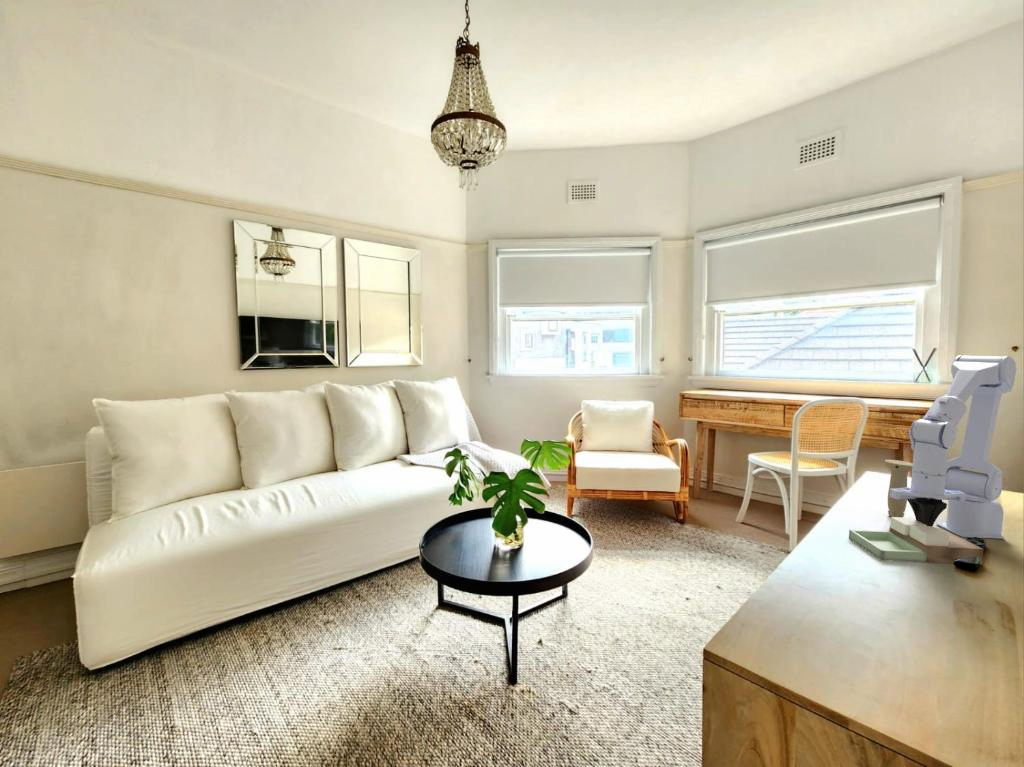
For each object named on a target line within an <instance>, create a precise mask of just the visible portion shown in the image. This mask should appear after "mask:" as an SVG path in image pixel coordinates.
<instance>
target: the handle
mask: <svg viewBox="0 0 1024 767" xmlns="http://www.w3.org/2000/svg"><path fill="white" fill-rule="evenodd" d="M884 467H887V468H888V469H889V470H890V472H891V473H890V477H889V478H890V479H889V485H888V492H887V507H888V508H887V509H888V510H887V513H888V516H890V517H905V511H906V508H907V502H908V500H907V499H894V498H892V497H890V489H897V488H907V487H908V473H909V472H912V467H913V462H909V461H904V460H897V459H885V460H884Z"/></svg>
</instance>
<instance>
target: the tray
mask: <svg viewBox="0 0 1024 767" xmlns="http://www.w3.org/2000/svg"><path fill="white" fill-rule="evenodd" d="M848 532H849V533H848V539H849V540H850V539H851V540H850V541H852V542H853V541H854V543H855V542H856V543H857V545H858V546H859V545H860V546H859V547H861V548H862V547H863V549H864V550H865V549H866V550H865V551H866V552H868V553H869V552H870V553H869V554H871V555H872V554H873V555H872V556H874V557H875V556H876V557H875V558H877V557H878V558H879V559H878V558H877V559H878V560H880V561H886V560H893V561H892V562H908V561H909V562H910V563H911V562H913V563H927V562H926V555H927V552H925V551H923V550H921V549H920V548H918V547H916V546H915V545H913V544H911V543H909V542H908V541H906V540H904V539H902V538H901V537H899V536H897V535H895V534H894V533H892V532H890V530H869V529H868V530H865V529H864V530H863V529H849V531H848ZM856 543H855V544H856ZM909 562H908V563H909Z"/></svg>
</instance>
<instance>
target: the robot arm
mask: <svg viewBox="0 0 1024 767" xmlns="http://www.w3.org/2000/svg"><path fill="white" fill-rule="evenodd" d="M1016 365H1017V364H1016V361H1015V359H1014V358H1013V356H1010V355H1003V356H1001V355H1000V356H999V355H994V356H993V355H991V356H990V355H964V354H959V355H956V357H955V358H954V359H953V361H952V362H951V366H950V369H951V370H950V371H951V373H950V374H951V376H952V379H953V380H952V381H951V383H950V385H949V387H948V390H947V392H946V393H945V395H944V396H940V397H937V398H935V400H934V401H933V403H932V404H931V406H930V407H929V409H928V410H927V411H926V413H925V415H924V416H923V417H922V418H920V419H918V420H914V421H913V422H912V424H911V426H910V429H909V432H908V436H909V440H910V443H911V444H910V449H911V450H912V451H913V454H912V455H913V458H912V463H913V467H912V471H911V481H910V486H907V488H897V489H890V497H892V498H894V499H907V502H908V504H909V506H910V507H911V509H912V511H913V514H914V517H915V518H914V519H915V520H917V521H919V522H921V523H923V524H925V525H927V526H932V527H934V524H935V522H936V520H937V519H938V517H939V516H940V514H942V512H943V511H945V510H946V509H947V511H946V520H945V521H946V522H936V526H938V527H940V528H942V529H944V530H946V531H948V532H950V533H952V534H953V533H954V535H956V536H958V537H960V538H962V537H963V538H974V537H977V538H980V539H1005V536H1004V535H1002V532H1003V521H1004V509H1003V507H1002V504H1001V503H1000V502H999V501H998V498H1000V496H1001V495H1002V491H1003V471H1002V470H1001V469H1000V468H999V467H998V466H996V465H994V463H993V462H991V461H990V460H989V459H990V458H989V457H990V453H991V447H992V443H993V438H994V433H995V427H996V421H997V417H998V412H999V407H1000V402H1001V400H1002V396H1003V394H1006V393H1009V392H1012V390H1013V387H1014V385H1015V384H1014V383H1015V380H1016V374H1017V366H1016ZM970 397H971V401H970V405H969V412H968V406H967V405H966V402H967V401H968V400H969V399H970ZM967 412H968V416H967V420H966V426H965V431H964V436H963V441H962V446H961V450H960V455H959V456H957V457H954V458H951V459H949V460H948V458H949V456H948V455H949V449H950V448H951V447H952V446H953V444H954V443H955V440H956V436H957V433H958V430H959V428H958V425H959V423H960V422H961V420H962V419H963V417H964V416H965V414H966V413H967ZM963 468H965V469H963ZM968 469H970V470H968ZM973 470H977V471H973ZM979 471H981V472H979ZM982 472H983V473H982ZM945 501H947V503H946V502H945Z"/></svg>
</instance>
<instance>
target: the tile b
mask: <svg viewBox="0 0 1024 767" xmlns="http://www.w3.org/2000/svg"><path fill="white" fill-rule="evenodd" d="M936 528H937V527H934V526H933V527H932V526H910V537H912V538H914V539H915V540H917V541H919V542H921V543H923V544H924V545H933V546H948V545H949V535H948V534H946V533H944V532H942V531H940V530H938V529H936Z"/></svg>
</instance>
